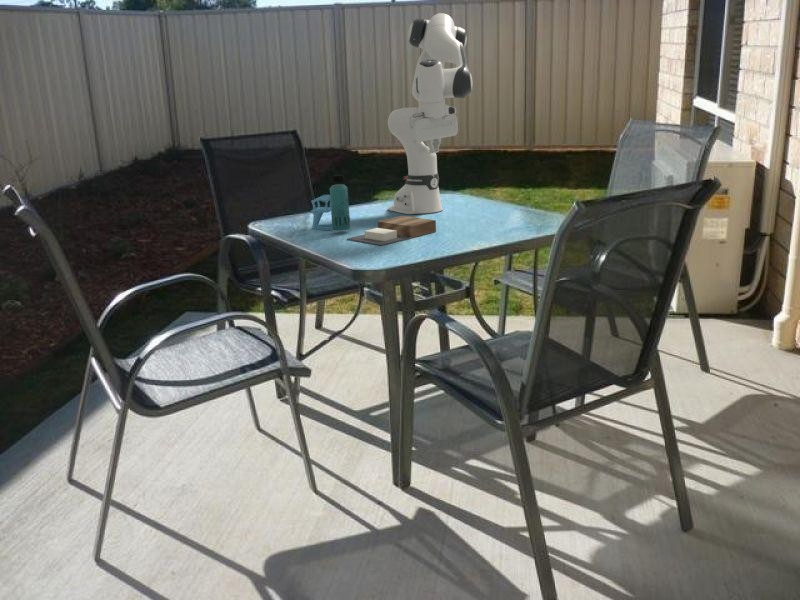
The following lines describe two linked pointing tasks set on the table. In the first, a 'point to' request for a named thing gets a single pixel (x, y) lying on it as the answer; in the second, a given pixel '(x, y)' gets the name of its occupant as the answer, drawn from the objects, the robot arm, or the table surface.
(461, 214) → the table surface
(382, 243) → the charcoal mat
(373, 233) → the cream tile
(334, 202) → the beverage bottle
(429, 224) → the block
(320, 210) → the chair
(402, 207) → the robot arm
